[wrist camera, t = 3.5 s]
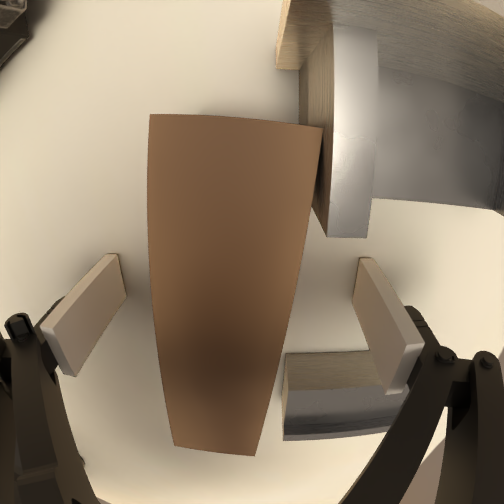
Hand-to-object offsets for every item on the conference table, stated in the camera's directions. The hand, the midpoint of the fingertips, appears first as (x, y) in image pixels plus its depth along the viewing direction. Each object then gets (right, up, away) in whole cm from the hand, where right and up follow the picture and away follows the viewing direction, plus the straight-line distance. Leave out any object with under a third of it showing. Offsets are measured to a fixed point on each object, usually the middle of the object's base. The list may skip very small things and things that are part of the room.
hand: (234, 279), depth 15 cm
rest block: (+8, -7, +3) cm, 11 cm away
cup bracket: (+8, +7, -3) cm, 11 cm away
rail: (0, 0, 0) cm, 0 cm away
